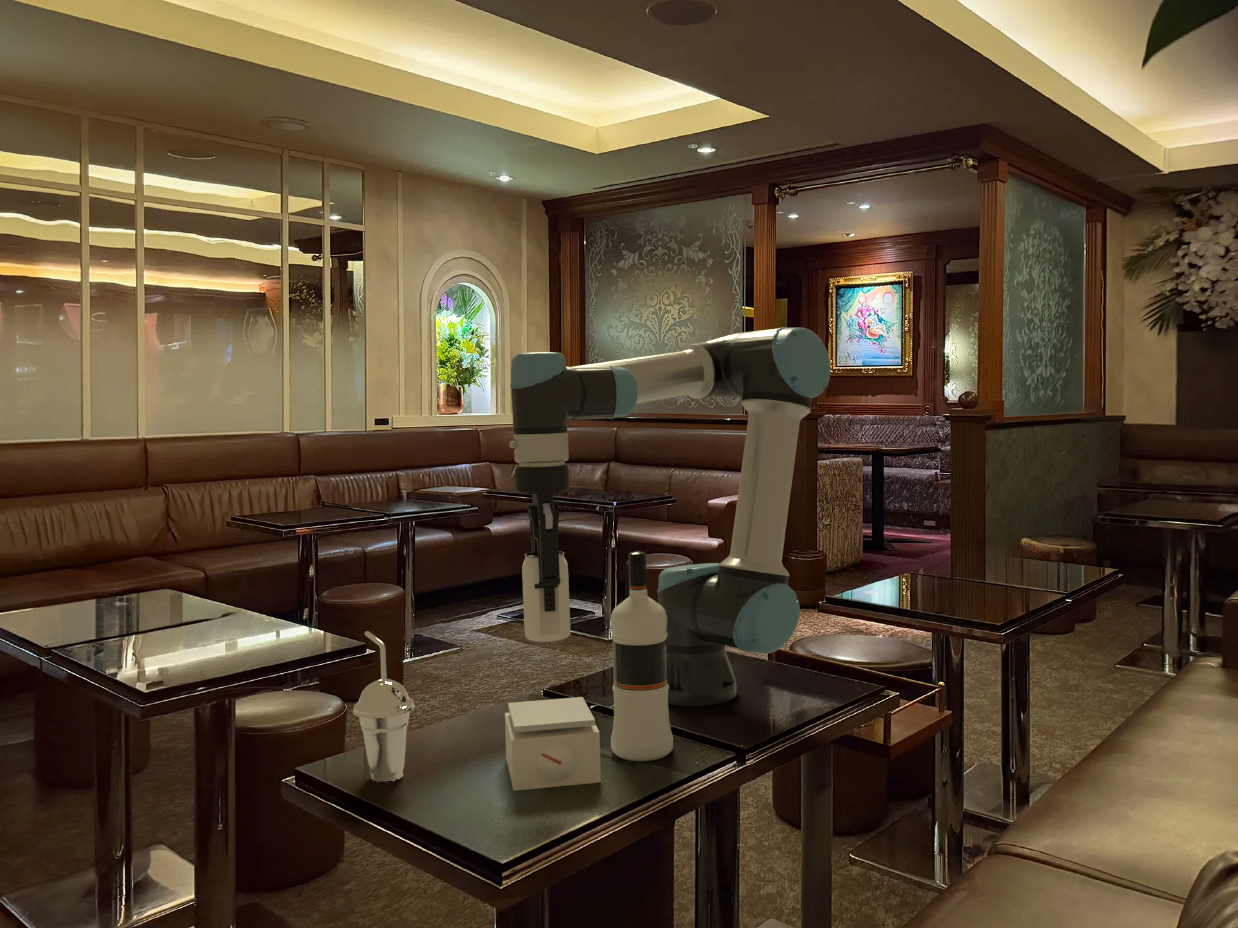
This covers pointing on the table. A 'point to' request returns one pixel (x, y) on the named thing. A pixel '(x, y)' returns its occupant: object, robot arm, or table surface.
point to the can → (532, 600)
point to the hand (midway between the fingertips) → (547, 628)
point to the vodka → (640, 672)
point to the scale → (551, 744)
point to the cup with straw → (384, 722)
